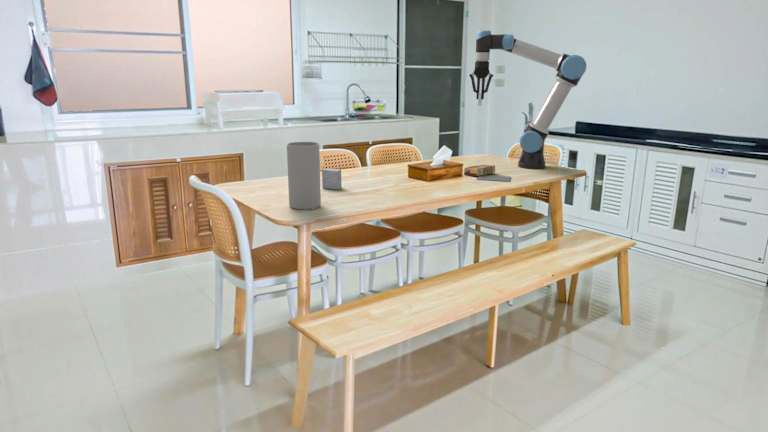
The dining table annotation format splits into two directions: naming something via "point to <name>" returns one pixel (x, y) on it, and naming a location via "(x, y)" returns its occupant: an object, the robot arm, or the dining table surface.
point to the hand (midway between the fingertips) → (479, 105)
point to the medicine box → (331, 178)
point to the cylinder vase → (303, 175)
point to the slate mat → (494, 178)
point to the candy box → (479, 170)
